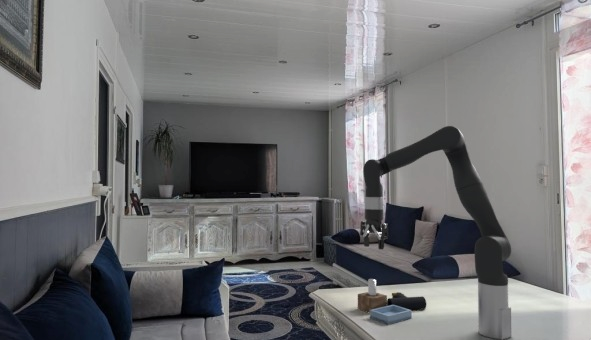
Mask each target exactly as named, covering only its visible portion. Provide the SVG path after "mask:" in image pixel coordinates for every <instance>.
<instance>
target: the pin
mask: <svg viewBox="0 0 591 340" xmlns="http://www.w3.org/2000/svg"><path fill="white" fill-rule="evenodd" d="M367 283H368V285H367V286H368V287H367V288H368V289H367V292H368V296H372V297H374V296H376V293H377V279H375V278H369V279H368V282H367Z"/></svg>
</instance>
